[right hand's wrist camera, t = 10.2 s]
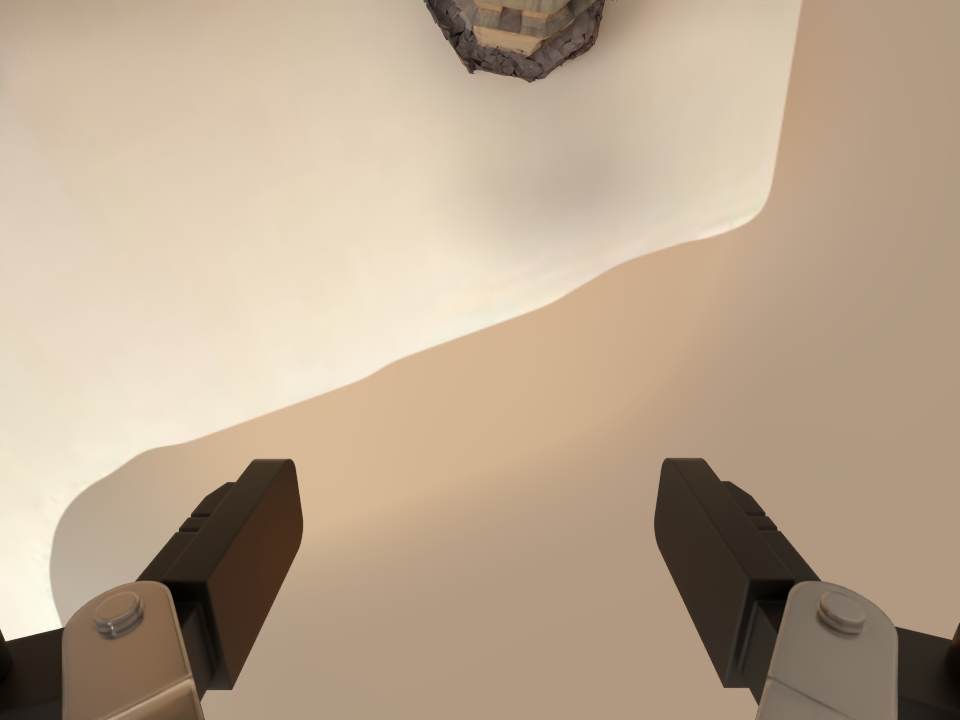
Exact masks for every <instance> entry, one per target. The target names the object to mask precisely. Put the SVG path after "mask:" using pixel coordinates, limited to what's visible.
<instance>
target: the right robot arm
mask: <svg viewBox="0 0 960 720" xmlns="http://www.w3.org/2000/svg"><path fill="white" fill-rule="evenodd" d="M654 529H655V537H656V541H657V545H658V548H659V550H660V552H661V554H662V556H663V558H664V561H665V563H666V565H667V567H668V569H669V571H670V573H671V576H672V578H673V580H674V582H675V584H676V586H677V588H678V590H679V593H680V595H681V597H682V599H683V601H684V603H685V605H686V607H687V610H688V612H689V614H690V616H691V618H692V620H693V622H694V625H695V627H696V629H697V631H698V633H699V635H700V638H701V640H702V642H703V644H704V646H705V648H706V650H707V652H708V655H709V657H710V659H711V661H712V663H713V665H714V667H715V670H716V672H717V674H718V676H719V678H720V680H721V682H722V684H723V687H724V688H749V689H750V691H751V692H752V694H753V696H754V698H755V700H756V702H757V704H758V706H759V708H758V711H757V715H756V719H755V720H960V623H959V625H958V628H957V630H956V632H955V635H954V637H953V639H952V640H950V639H945V638H941V637H937V636H933V635H929V634H924V633H920V632H916V631H911V630H907V629H903V628H899V627H895V626H894V625H893V623H892V621H891V620H890V619H889V617H888V616H887V615H886V614H885V613H884V612H883V611H882V610H881V609H880V608H879V607H878V606H876V605H875V604H874V603H872V602H871V601H870V600H868V599H866V598H865V597H863V596H862V595H860V594H858V593H856V592H854V591H852V590H850V589H847V588H845V587H842V586H839V585H836V584H832V583H828V582H822V581H821V580H820V579H819V577H818V576H817V575H816V574H815V573H814V571H813V570H812V569H811V568H810V567H809V565H808V564H807V563H806V562H805V560H804V559H803V558H802V557H801V556H800V554H799V553H798V552H797V551H796V550H795V548H794V547H793V546H792V545H791V543H790V542H789V541H788V540H787V539H786V537H785V536H784V535H783V534H782V533H781V531H778V530H777V527H776V525H775V524H774V523H773V522H772V520H771V519H770V518H769V517H768V516H766V515H765V512H764V511H763V509H762V508H761V507H760V506H759V505H758V503H757V502H756V501H755V500H754V499H753V497H752V496H751V495H749V494H748V493H746V492H745V491H743V490H742V489H740V488H739V487H737V486H736V485H734V484H733V483H731V482H730V481H720V479H719V478H718V477H717V475H716V474H715V473H714V472H713V470H712V469H711V468H710V466H709V465H708V464H707V462H706V461H705V460H704V459H702V458H666V459H665V460H664V462H663V464H662V468H661V475H660V482H659V489H658V496H657V503H656V510H655V518H654ZM302 533H303V516H302V510H301V502H300V495H299V489H298V481H297V475H296V468H295V464H294V462H293V461H292V460H291V459H254V460H253V461H252V462H251V463H250V465H249V466H248V467H247V468H246V470H245V471H244V472H243V474H242V475H241V476H240V477H239V479H238V480H237V481H236V482H227V483H226V484H224V485H223V486H221V487H220V488H218V489H217V490H215V491H214V492H212V493H211V494H209V495H208V496H206V497H205V498H204V499H203V500H202V502H201V503H200V504H199V505H198V506H197V508H196V509H195V510H194V511H193V512H192V514H191V518H188V519H187V520H186V521H185V522H184V523H183V524H182V526H181V527H180V528H179V532H176V533H175V534H174V535H173V536H172V538H171V539H170V540H169V541H168V543H167V544H166V545H165V546H164V547H163V549H162V550H161V551H160V552H159V553H158V555H157V556H156V557H155V558H154V559H153V561H152V562H151V563H150V564H149V565H148V567H147V568H146V569H145V570H144V571H143V573H142V574H141V575H140V576H139V578H138V579H137V580H136V581H135V582H132V583H128V584H124V585H121V586H118V587H115V588H113V589H110V590H108V591H106V592H104V593H102V594H100V595H98V596H97V597H95V598H94V599H92V600H90V601H89V602H88V603H86V604H85V605H84V606H82V607H81V608H80V609H79V610H78V611H77V612H76V613H75V614H74V615H73V616H72V617H71V619H70V620H69V622H68V623H67V624H66V626H65V627H64V628H60V629H56V630H52V631H48V632H44V633H39V634H35V635H31V636H27V637H23V638H18V639H14V640H10V641H6V642H5V639H4V637H3V635H2V632H1V630H0V720H205V719H204V715H203V711H202V708H201V704H200V702H201V700H202V698H203V696H204V694H205V692H206V690H232V689H233V687H234V685H235V682H236V680H237V678H238V676H239V674H240V672H241V670H242V668H243V666H244V663H245V661H246V659H247V657H248V655H249V653H250V651H251V649H252V647H253V644H254V642H255V640H256V638H257V636H258V634H259V632H260V630H261V627H262V625H263V623H264V621H265V619H266V617H267V615H268V613H269V611H270V609H271V606H272V604H273V602H274V600H275V598H276V596H277V594H278V592H279V590H280V587H281V585H282V583H283V581H284V579H285V577H286V575H287V573H288V571H289V568H290V566H291V564H292V562H293V560H294V558H295V556H296V554H297V552H298V549H299V547H300V544H301V539H302Z"/></svg>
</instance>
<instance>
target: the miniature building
mask: <svg viewBox="0 0 960 720" xmlns="http://www.w3.org/2000/svg"><path fill="white" fill-rule="evenodd" d="M612 1H614V2H615V3H616V1H617V0H612ZM424 2H426V6H427V8H428V10H429V11H430V12H431V14H432V17H433V19H434V21H435V22H436V23H437V24H438V26H439V27H440V28H441V30H442V32H443V35H444V36H445V38H446V40H449V42H450V44H451V45H452V46H453V48H454V50H455V51H456V53H457V55H458V57H459V58H460V60H461V62H462V63H463V64H464V66H465V67H466V68H467V70H468V72H469V73H470V74H474V73H473V72H474V70H476V69H477V70H483V71H487V72H491V73H495V74H500V75H504V76H513V77H518V78H521V79H524V80H526V81H528V82H532V81H535V78H536V79H543V78H545V77H546V76H547V75H548V74H549V73H550V72H551V71H552V70H554V69H555V68H556V67H558V66H559V65H560V66H562V63H564V62H565V61H566V60H568V59H574V58H576V57H577V56H579V55H582V54H583V53H585V52H587V51H588V50H589V49H590V48H591V47H592V46H593V45H594V44H595V41H596V39H597V36H598V30H599V25H600V21H601V19H602V11H603V6H604V2H605V0H424ZM457 8H458V9H457ZM462 11H463V12H462ZM600 17H601V18H600ZM436 23H435V24H436ZM472 25H473V28H472ZM471 28H472V29H471ZM562 28H563V29H562ZM471 30H472V32H473V33H474V34H473V35H472V34H471V33H470V32H471ZM560 33H561V35H560ZM474 36H475V37H474ZM475 38H476V41H475ZM473 39H474V40H473ZM544 39H546V40H544ZM543 41H544V42H543ZM487 44H488V45H487ZM543 44H544V45H543ZM486 45H487V46H486ZM495 45H496V46H495ZM563 45H564V46H563ZM497 46H499V47H498V49H497ZM515 48H516V49H515ZM518 49H519V50H518ZM524 49H525V50H524ZM490 50H491V51H493V50H494V51H493V52H491V51H490ZM495 50H497V51H495ZM499 50H500V52H501V53H499ZM521 50H522V51H523V52H522V53H521ZM502 51H503V52H502ZM512 51H514V52H515V53H516V54H514V53H513V52H512ZM518 51H519V52H518ZM536 51H537V52H536ZM511 52H512V53H511ZM533 53H534V54H533ZM487 54H490V55H487ZM510 54H511V55H510ZM522 54H523V55H522ZM531 54H532V55H531ZM503 57H506V58H505V59H504V58H503ZM539 65H540V66H539ZM520 72H521V73H520ZM540 73H541V74H540Z"/></svg>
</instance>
